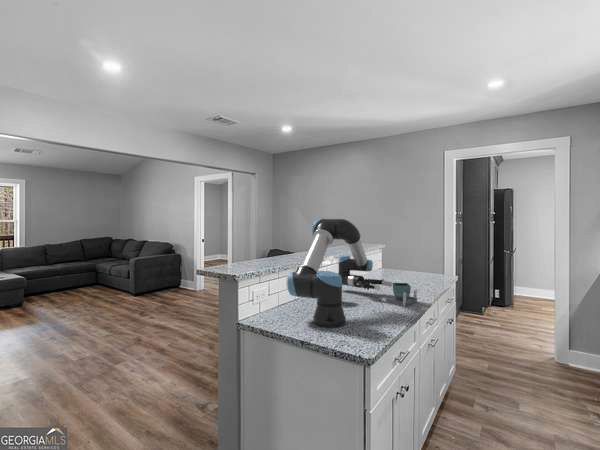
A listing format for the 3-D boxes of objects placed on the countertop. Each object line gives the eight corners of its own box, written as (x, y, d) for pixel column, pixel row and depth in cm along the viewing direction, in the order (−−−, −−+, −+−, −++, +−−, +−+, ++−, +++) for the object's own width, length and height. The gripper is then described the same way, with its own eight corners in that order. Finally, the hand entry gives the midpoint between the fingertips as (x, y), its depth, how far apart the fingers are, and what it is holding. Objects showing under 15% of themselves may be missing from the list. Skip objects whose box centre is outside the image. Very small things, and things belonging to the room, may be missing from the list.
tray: (405, 306, 177) (405, 293, 177) (385, 302, 185) (385, 289, 185) (417, 301, 187) (417, 288, 187) (398, 298, 196) (398, 285, 196)
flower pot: (407, 298, 190) (407, 282, 190) (411, 301, 181) (411, 285, 181) (392, 297, 191) (392, 282, 191) (395, 301, 182) (395, 285, 182)
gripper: (367, 284, 217) (396, 288, 202) (344, 290, 200) (374, 295, 185) (367, 272, 217) (396, 276, 202) (344, 278, 200) (374, 282, 185)
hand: (385, 286), depth 193 cm, fingers open, 13 cm apart
